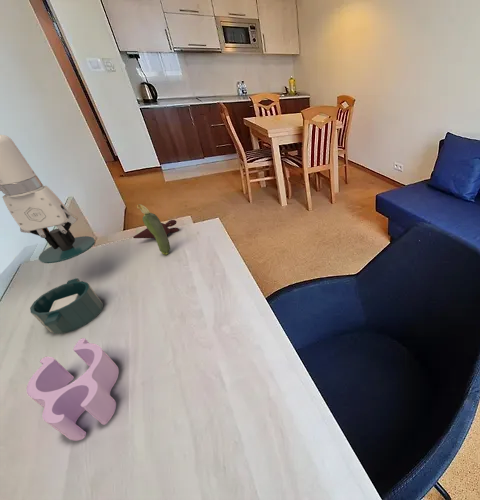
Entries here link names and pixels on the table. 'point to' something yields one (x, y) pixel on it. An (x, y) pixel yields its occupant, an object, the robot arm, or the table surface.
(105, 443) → the table surface
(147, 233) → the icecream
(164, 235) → the vegetable
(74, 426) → the clip
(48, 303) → the pot
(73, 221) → the robot arm
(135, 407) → the table surface
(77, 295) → the small box
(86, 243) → the pot lid
